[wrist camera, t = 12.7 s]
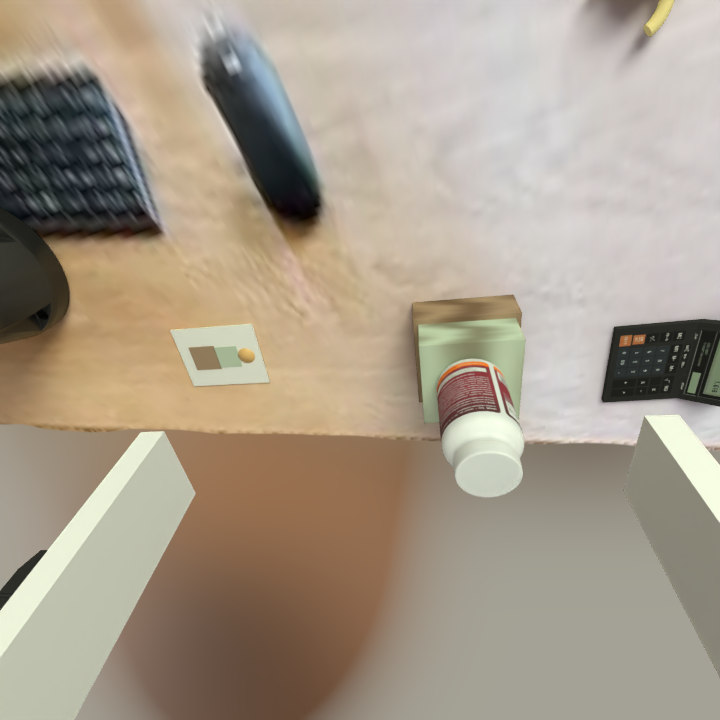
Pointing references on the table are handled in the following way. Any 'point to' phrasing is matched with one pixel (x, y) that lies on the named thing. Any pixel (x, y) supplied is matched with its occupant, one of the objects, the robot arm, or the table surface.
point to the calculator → (665, 362)
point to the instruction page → (221, 355)
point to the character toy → (658, 17)
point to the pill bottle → (479, 428)
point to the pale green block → (467, 342)
